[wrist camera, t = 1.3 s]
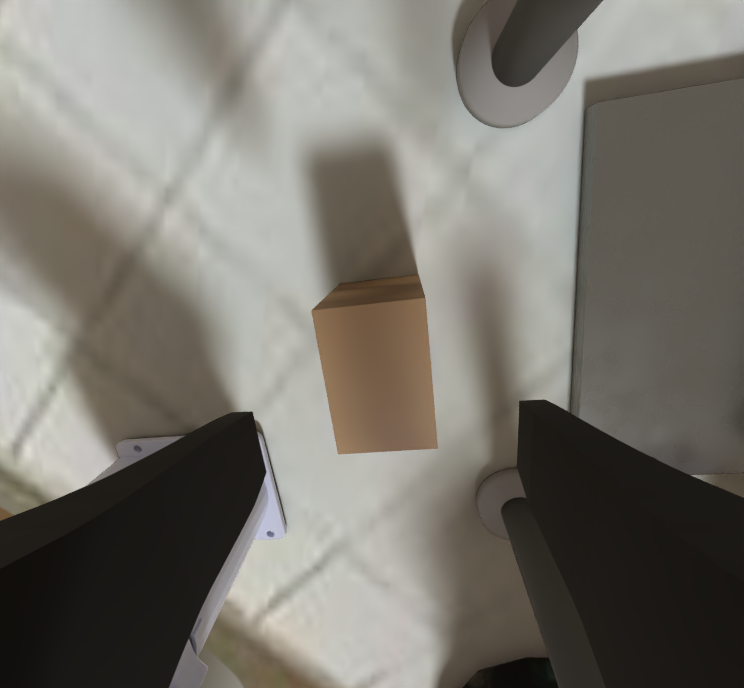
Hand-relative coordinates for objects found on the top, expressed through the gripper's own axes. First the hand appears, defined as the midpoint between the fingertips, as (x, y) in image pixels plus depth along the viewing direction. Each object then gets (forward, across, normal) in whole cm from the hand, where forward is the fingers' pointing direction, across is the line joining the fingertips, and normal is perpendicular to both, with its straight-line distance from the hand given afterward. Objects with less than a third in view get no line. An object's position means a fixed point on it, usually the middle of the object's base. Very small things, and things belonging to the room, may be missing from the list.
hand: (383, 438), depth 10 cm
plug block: (+10, 0, 0) cm, 10 cm away
